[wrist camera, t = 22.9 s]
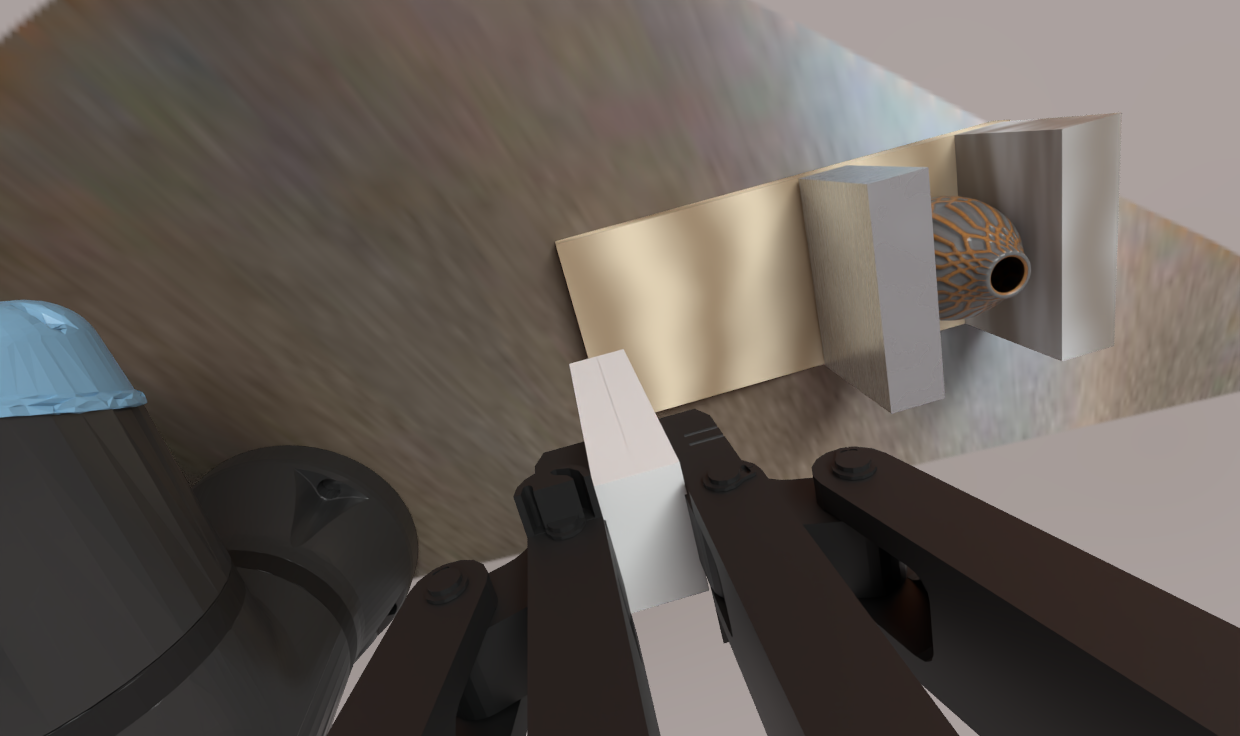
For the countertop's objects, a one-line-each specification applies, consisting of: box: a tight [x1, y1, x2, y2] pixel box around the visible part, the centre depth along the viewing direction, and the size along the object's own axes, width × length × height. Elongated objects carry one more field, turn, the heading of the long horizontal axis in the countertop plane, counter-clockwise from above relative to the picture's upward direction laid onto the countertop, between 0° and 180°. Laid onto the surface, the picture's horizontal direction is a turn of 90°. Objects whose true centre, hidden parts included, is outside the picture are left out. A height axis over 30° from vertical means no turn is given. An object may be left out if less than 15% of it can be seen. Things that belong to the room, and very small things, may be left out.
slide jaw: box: [798, 165, 945, 414], centre depth 34 cm, size 3×12×8 cm, turn 14°
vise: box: [555, 113, 1122, 412], centre depth 35 cm, size 28×12×10 cm, turn 104°
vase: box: [931, 196, 1031, 321], centre depth 34 cm, size 7×7×9 cm
